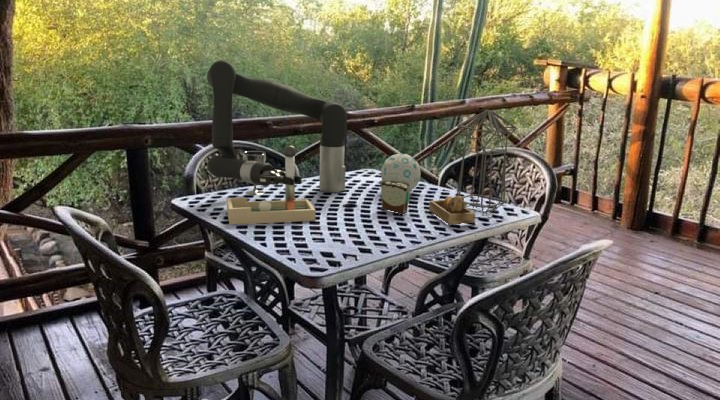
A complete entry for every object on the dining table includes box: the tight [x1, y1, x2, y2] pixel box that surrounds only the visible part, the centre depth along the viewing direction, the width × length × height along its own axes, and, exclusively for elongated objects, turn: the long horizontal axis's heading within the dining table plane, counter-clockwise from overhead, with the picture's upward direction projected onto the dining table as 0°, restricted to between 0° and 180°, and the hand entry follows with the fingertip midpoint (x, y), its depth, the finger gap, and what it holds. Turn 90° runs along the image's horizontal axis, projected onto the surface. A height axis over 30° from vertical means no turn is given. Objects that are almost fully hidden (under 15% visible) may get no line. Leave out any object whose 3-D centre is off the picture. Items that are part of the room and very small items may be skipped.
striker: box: [283, 144, 297, 210], centre depth 184 cm, size 4×5×21 cm
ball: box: [259, 199, 271, 211], centre depth 185 cm, size 4×4×4 cm
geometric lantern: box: [455, 109, 519, 217], centre depth 192 cm, size 16×16×35 cm
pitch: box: [226, 197, 316, 225], centre depth 185 cm, size 26×13×5 cm, turn 106°
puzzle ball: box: [380, 153, 422, 190], centre depth 220 cm, size 15×15×15 cm
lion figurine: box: [444, 195, 468, 214], centre depth 189 cm, size 15×5×9 cm, turn 15°
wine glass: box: [242, 150, 267, 196], centre depth 213 cm, size 8×8×15 cm
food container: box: [379, 179, 413, 215], centre depth 196 cm, size 12×6×10 cm, turn 47°
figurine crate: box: [428, 199, 476, 225], centre depth 190 cm, size 9×17×4 cm, turn 16°
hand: (296, 180), depth 183 cm, fingers closed on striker, 3 cm apart
